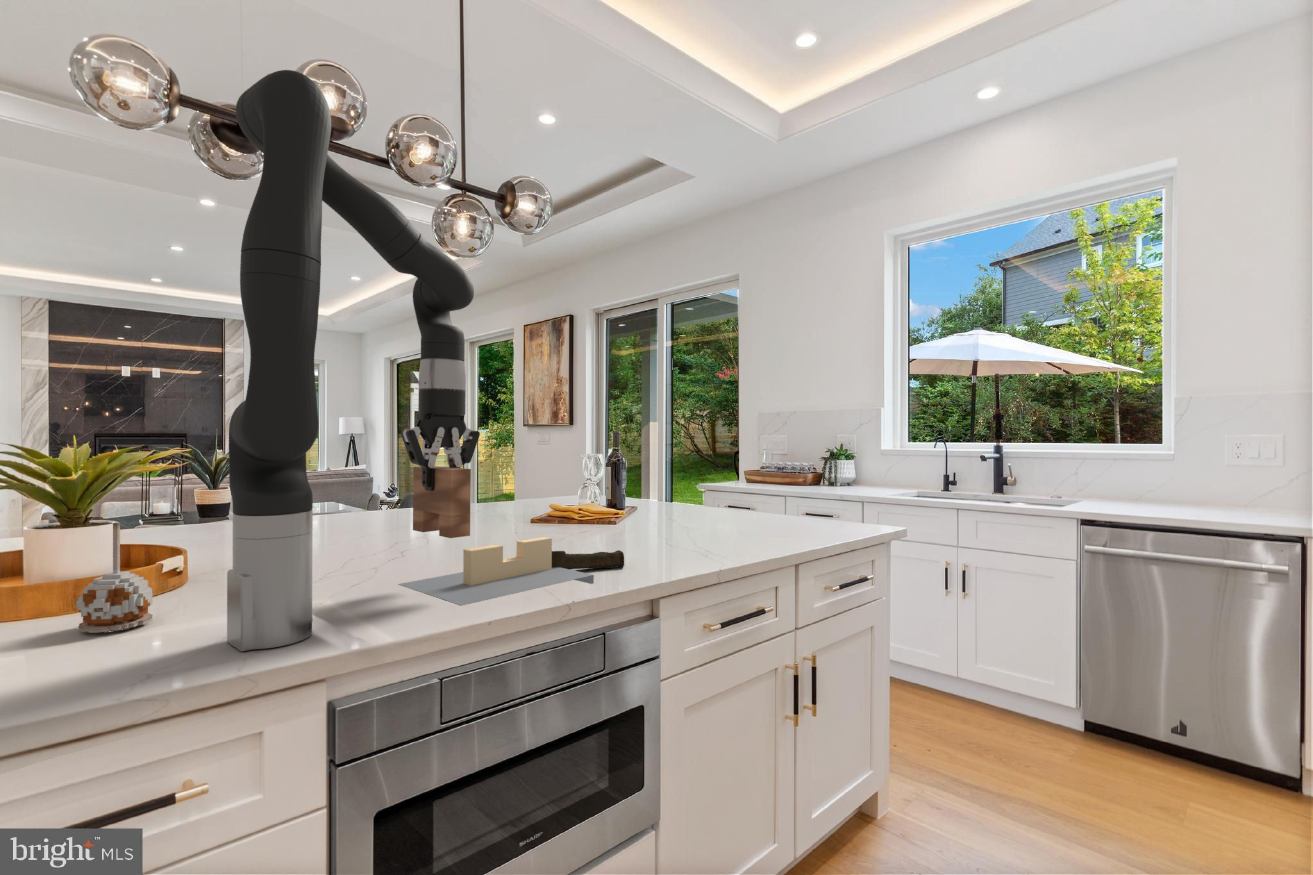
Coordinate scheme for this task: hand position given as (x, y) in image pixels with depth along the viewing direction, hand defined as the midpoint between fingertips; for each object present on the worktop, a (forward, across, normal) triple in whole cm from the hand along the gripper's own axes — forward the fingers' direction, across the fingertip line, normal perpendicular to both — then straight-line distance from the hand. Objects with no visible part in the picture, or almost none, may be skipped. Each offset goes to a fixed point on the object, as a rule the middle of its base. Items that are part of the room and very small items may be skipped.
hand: (441, 489), depth 105 cm
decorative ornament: (+19, -39, +20) cm, 48 cm away
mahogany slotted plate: (+7, 0, 0) cm, 7 cm away
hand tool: (+19, +30, -2) cm, 35 cm away
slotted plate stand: (+18, +11, -1) cm, 22 cm away
